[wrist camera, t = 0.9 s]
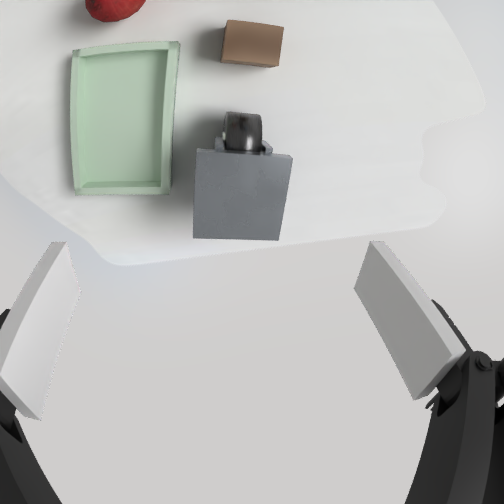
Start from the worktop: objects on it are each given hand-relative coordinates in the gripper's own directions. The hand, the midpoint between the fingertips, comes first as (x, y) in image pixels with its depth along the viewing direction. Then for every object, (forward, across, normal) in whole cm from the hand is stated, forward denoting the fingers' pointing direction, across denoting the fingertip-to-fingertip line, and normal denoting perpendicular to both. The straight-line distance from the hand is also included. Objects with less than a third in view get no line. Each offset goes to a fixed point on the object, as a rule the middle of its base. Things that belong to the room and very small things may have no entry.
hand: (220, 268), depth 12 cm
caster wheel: (+21, +2, -2) cm, 22 cm away
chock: (+22, +3, +11) cm, 25 cm away
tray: (+21, -9, +3) cm, 24 cm away
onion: (+22, -10, +16) cm, 29 cm away
